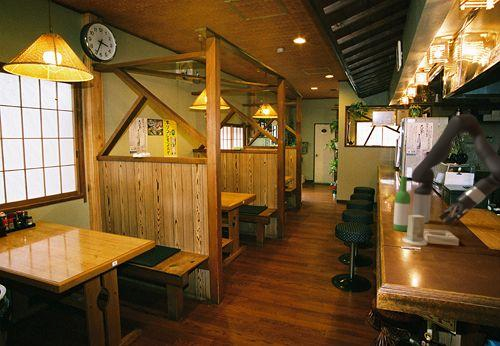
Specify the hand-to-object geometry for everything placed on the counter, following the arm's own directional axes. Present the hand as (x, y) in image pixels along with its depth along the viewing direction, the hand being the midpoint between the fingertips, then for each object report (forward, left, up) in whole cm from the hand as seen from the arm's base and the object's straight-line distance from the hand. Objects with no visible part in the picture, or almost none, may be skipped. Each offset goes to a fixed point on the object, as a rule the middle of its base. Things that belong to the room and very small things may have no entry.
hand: (443, 221), depth 155 cm
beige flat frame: (-7, +1, -11) cm, 13 cm away
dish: (+1, -12, -11) cm, 17 cm away
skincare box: (+1, -12, -10) cm, 16 cm away
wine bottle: (-21, -14, -11) cm, 28 cm away
